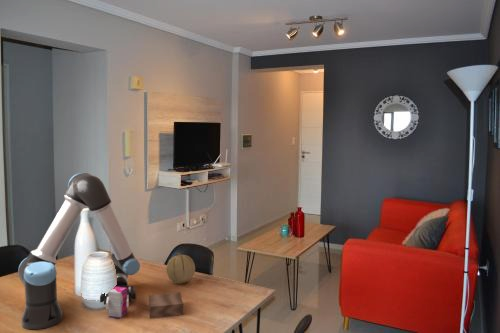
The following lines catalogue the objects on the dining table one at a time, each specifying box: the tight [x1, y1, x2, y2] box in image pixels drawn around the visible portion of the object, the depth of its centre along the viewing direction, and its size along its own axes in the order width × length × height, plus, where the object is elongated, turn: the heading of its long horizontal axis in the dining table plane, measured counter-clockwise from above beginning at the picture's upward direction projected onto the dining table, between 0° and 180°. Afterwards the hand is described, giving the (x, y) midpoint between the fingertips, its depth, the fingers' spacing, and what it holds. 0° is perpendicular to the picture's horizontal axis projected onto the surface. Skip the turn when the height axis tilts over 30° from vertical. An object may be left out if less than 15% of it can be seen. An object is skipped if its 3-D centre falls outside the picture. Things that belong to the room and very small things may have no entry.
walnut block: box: [148, 292, 184, 319], centre depth 185 cm, size 14×12×5 cm
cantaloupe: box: [166, 252, 196, 285], centre depth 216 cm, size 15×15×15 cm
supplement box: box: [108, 286, 128, 319], centre depth 180 cm, size 6×6×12 cm
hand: (117, 305), depth 175 cm, fingers closed on supplement box, 7 cm apart
